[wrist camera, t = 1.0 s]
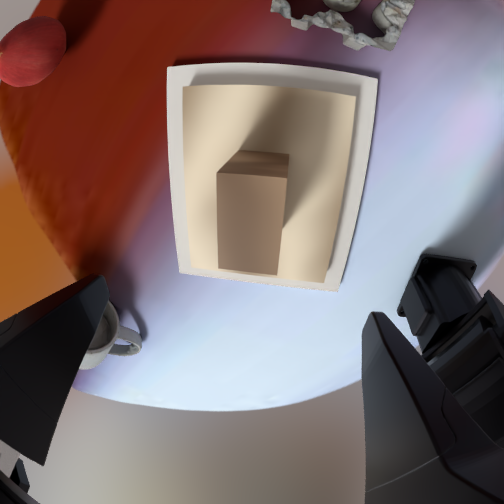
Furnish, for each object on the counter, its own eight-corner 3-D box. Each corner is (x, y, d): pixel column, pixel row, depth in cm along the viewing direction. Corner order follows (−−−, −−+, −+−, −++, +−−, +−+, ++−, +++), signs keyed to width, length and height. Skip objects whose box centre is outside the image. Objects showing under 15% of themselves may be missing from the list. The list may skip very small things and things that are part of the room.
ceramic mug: (71, 311, 30) (42, 353, 24) (77, 275, 26) (39, 322, 20) (136, 354, 33) (114, 400, 26) (154, 326, 29) (127, 382, 22)
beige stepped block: (352, 96, 14) (382, 97, 9) (323, 275, 21) (328, 334, 16) (188, 86, 15) (140, 87, 10) (195, 260, 22) (167, 312, 17)
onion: (35, 70, 14) (-33, 84, 8) (60, 14, 11) (-10, 13, 5) (68, 89, 15) (-8, 107, 9) (98, 27, 13) (19, 21, 6)
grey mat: (375, 79, 13) (377, 79, 13) (336, 287, 22) (337, 291, 21) (171, 67, 14) (167, 67, 14) (182, 268, 23) (179, 272, 23)
